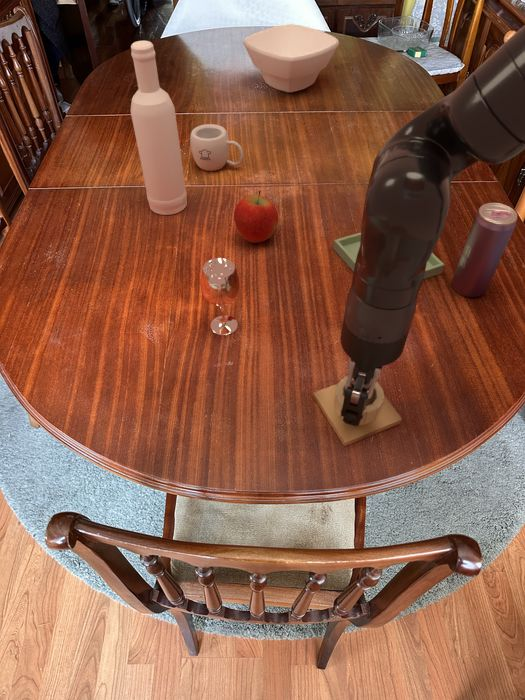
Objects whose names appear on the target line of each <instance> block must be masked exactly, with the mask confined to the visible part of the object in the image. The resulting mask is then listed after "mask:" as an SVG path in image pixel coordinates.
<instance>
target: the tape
mask: <svg viewBox="0 0 525 700" xmlns="http://www.w3.org/2000/svg"><path fill="white" fill-rule="evenodd" d="M347 378H348V375H346V376H344V377H343V378H341V379H340V381H339V382H338V383H337V384H338V385H337V387H336V391H335V397H334V409H335V411H336V413H337V414H338V416H339V417H341V419H343V416H341V410H342V408H343V403H344V396H345V393H344V392H345V386H346V382H347ZM371 381H372V379H371ZM353 382H354V379H353V378H352V384H353ZM369 384H370V385H371V382H370V383H369ZM384 395H385V392H384V389H383V387H382V386H381V385H380V383H379V382H378V380H376V383H375V387H374V390H373V394H372V397H371V398H370V400H371V401H372V403H373V404H371V405H368V406H366V408H365V411H363V413H362V415H363V418H362V419H361V420H360V423H359V425H363V424H364V425H366V424H368V423H371V422H373V421H374V420H376V418H377V417H378V415H379V414H380V411H381V408H382V405H383V401H384Z"/></svg>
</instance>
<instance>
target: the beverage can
mask: <svg viewBox="0 0 525 700" xmlns="http://www.w3.org/2000/svg"><path fill="white" fill-rule="evenodd" d="M517 220H518V213H517V212H516V210H515V209H513V208H512V207H511V206H508V205H507V204H504V203H500V202H499V203H498V202H488V203H484V204H482V205H481V206H480V207H479V208H478V211H477V212H476V213H475V216H474V218H473V222H472V224H471V226H470V229H469V232H468V235H467V237H466V240H465V242H464V245H463V248H462V250H461V254H460V257H459V259H458V263H457V265H456V267H455V271H454V273H453V276H452V279H451V284H452V287H453V289H454V290H455V292H456V293H458V295H462V296H464V297H467V298H477V297H481V296H482V295H484V294H485V293H487V291H488V290H489V287H490V285H491V282H492V280H493V278H494V276H495V273H496V272H497V268H498V266H499V264H500V261H501V259H502V257H503V255H504V253H505V250H506V248H507V246H508V244H509V241H510V239H511V237H512V235H513V232H514V230H515V228H516V225H517Z"/></svg>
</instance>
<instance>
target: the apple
mask: <svg viewBox="0 0 525 700" xmlns="http://www.w3.org/2000/svg"><path fill="white" fill-rule="evenodd" d="M261 192H262V190H259V191H258V195H257V194H255V195H254V194H251V195H247V196H245V197H243V198H242V199H241V200H239V202H238V203H237V204H236V206H235V208H234V211H233V220H234V225H235V227H236V229H237V231H238V233H239V235H240V236H241V237H242V238H243V239H244V240H245V241H247V242H249V243H254V244H255V243H261V242H265V241H267V240H269V239H270V238H272V236H273V235H274V234H275V232H276V231H277V229H278V226H279V214H278V210H277V207H276V206H275V204H274V203H273V202H272V201H271V200H270V199H268V198H267V197H266V196H263V195H261Z"/></svg>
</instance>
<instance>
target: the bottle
mask: <svg viewBox="0 0 525 700" xmlns="http://www.w3.org/2000/svg"><path fill="white" fill-rule="evenodd" d="M154 47H155V46H154V44H153V43H152V42H151V41H150V40H137V41H134V42H133V43H132V44H131V45H130V49H131V52H130V54H131V58H132V60H133V67H134V71H135V77H136V84H137V88H138V89H137V90H136V92H135V93H134V95H133V96H132V98H131V104H130V115H131V121H132V125H133V131H134V135H135V140H136V145H137V150H138V155H139V162H140V165H141V171H142V176H143V181H144V185H145V191H146V199H147V202H148V205H149V208H150V209H149V210H151V211H152V212H153V213H155V214H158V215H161V216H171V215H172V216H173V215H175V214H178V213H180V212H183V210H185V208H186V207H187V206H188V205H187V204H188V198H187V197H188V194H187V189H186V184H185V177H184V168H183V161H182V154H181V145H180V138H179V130H178V123H177V115H176V108H175V105H174V103H173V101H172V99H171V97H170V95H169V93H168V92H166V90H164V89H163V88H161V86H160V81H159V74H158V67H157V60H156V51H155V48H154Z"/></svg>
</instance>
